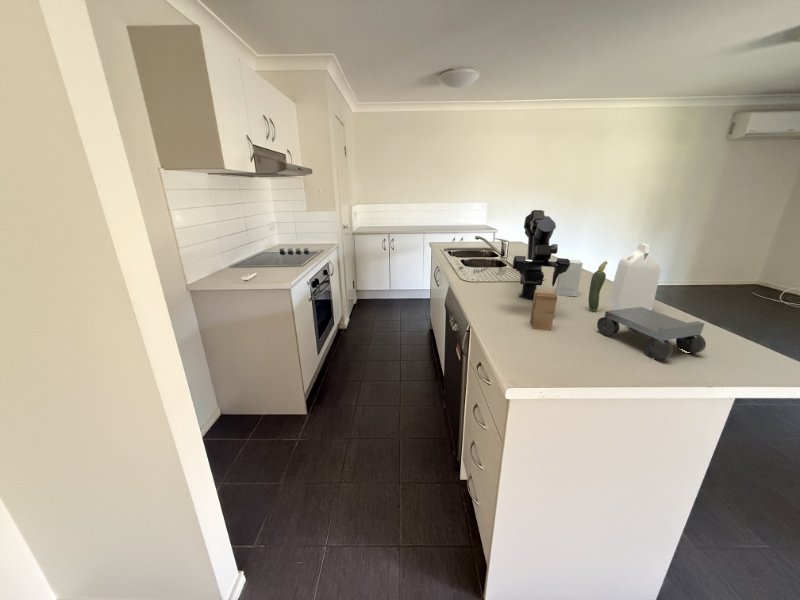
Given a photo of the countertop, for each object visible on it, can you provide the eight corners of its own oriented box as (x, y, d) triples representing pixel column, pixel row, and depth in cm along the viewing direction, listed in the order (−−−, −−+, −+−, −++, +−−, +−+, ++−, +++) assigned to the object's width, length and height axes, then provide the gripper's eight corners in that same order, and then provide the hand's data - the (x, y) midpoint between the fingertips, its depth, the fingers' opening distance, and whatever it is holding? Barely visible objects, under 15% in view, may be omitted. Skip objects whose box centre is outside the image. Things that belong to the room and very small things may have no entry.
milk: (650, 316, 119) (670, 247, 110) (615, 312, 122) (632, 245, 114) (639, 306, 129) (656, 242, 121) (607, 303, 133) (621, 241, 124)
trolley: (595, 331, 106) (601, 304, 103) (629, 326, 110) (636, 300, 107) (662, 363, 86) (673, 332, 83) (701, 356, 90) (712, 326, 87)
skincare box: (574, 293, 145) (581, 260, 140) (577, 297, 139) (583, 263, 134) (554, 291, 148) (560, 258, 143) (556, 295, 142) (562, 261, 137)
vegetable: (585, 311, 123) (596, 261, 117) (584, 308, 127) (594, 259, 120) (598, 313, 122) (610, 262, 115) (596, 309, 125) (608, 260, 119)
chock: (529, 322, 113) (534, 290, 109) (547, 323, 112) (553, 291, 108) (532, 328, 108) (537, 295, 104) (551, 330, 106) (557, 297, 102)
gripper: (517, 234, 113) (514, 272, 108) (574, 236, 108) (574, 276, 103) (513, 250, 123) (510, 286, 118) (565, 252, 118) (565, 290, 113)
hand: (539, 284), depth 113 cm, fingers open, 9 cm apart
